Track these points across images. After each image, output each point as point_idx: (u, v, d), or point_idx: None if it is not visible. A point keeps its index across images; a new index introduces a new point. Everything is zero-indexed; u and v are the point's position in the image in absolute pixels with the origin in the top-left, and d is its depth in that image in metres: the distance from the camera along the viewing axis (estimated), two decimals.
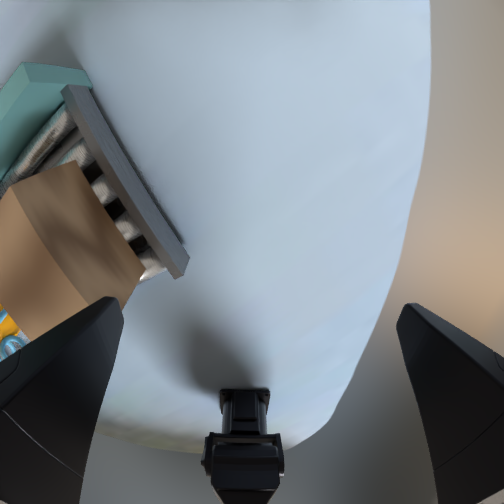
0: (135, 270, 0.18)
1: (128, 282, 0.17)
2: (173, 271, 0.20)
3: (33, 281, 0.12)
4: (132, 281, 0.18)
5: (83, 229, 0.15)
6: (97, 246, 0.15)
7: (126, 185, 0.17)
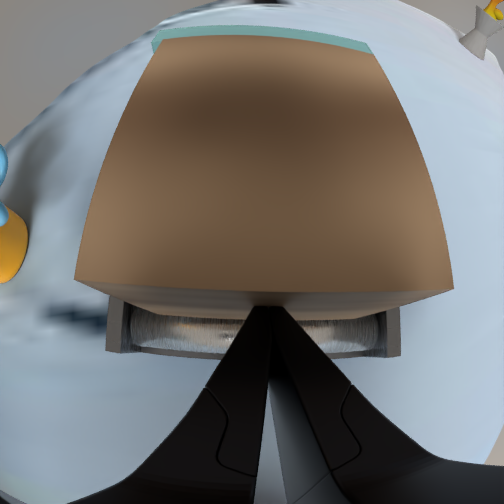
0: None
1: None
2: (392, 344, 0.11)
3: (328, 114, 0.07)
4: None
5: None
6: None
7: None
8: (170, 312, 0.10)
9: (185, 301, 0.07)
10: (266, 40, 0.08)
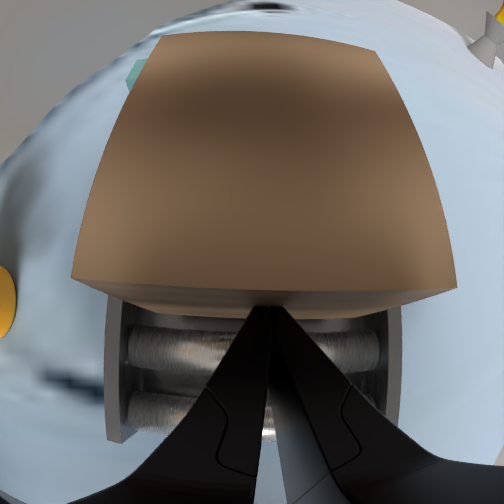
0: None
1: None
2: None
3: (330, 110, 0.07)
4: None
5: None
6: None
7: None
8: (169, 311, 0.10)
9: (184, 300, 0.07)
10: (266, 36, 0.08)
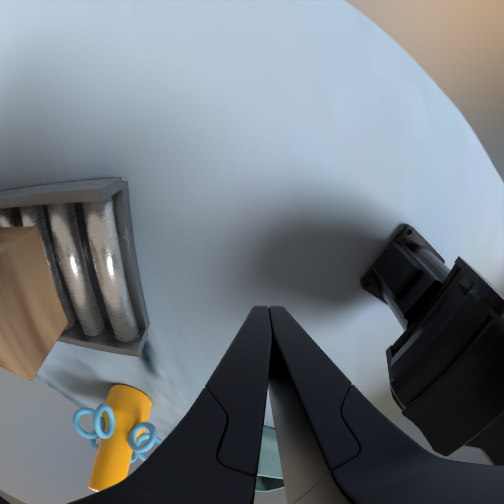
0: (22, 233, 0.14)
1: (9, 242, 0.13)
2: (94, 196, 0.14)
3: None
4: (14, 240, 0.13)
5: None
6: None
7: (24, 193, 0.14)
8: (56, 325, 0.17)
9: (29, 342, 0.14)
10: None
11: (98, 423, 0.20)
